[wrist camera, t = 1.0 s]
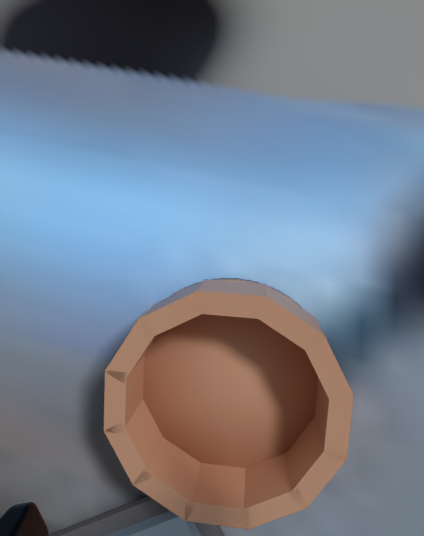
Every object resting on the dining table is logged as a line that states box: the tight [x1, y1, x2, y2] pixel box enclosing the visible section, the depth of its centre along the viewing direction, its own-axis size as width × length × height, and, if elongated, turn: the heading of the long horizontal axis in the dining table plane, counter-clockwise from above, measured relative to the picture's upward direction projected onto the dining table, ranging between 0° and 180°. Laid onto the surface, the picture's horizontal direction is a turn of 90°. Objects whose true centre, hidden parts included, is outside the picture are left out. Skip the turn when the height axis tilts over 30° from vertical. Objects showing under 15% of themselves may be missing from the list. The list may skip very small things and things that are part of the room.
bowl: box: [104, 278, 354, 530], centre depth 20 cm, size 11×11×4 cm
